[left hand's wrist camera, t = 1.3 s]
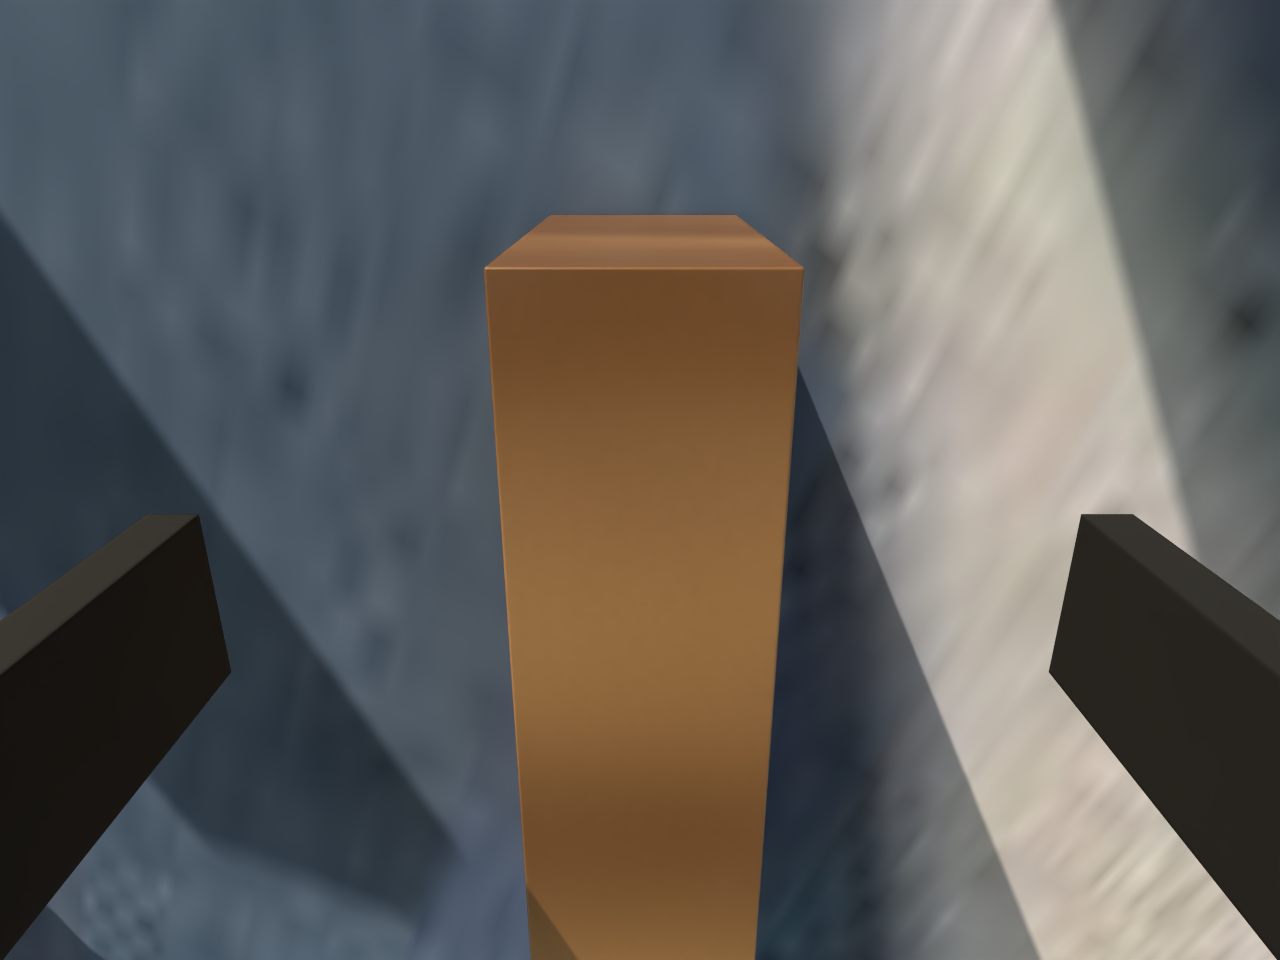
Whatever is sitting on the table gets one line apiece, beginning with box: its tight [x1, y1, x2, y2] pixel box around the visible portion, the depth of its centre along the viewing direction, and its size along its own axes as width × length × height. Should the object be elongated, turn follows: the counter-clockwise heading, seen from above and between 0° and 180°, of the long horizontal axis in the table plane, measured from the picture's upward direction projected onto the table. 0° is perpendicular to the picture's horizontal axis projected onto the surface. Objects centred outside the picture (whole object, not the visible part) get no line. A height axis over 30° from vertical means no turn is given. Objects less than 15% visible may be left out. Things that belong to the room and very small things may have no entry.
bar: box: [484, 215, 804, 960], centre depth 21 cm, size 22×5×9 cm, turn 0°
